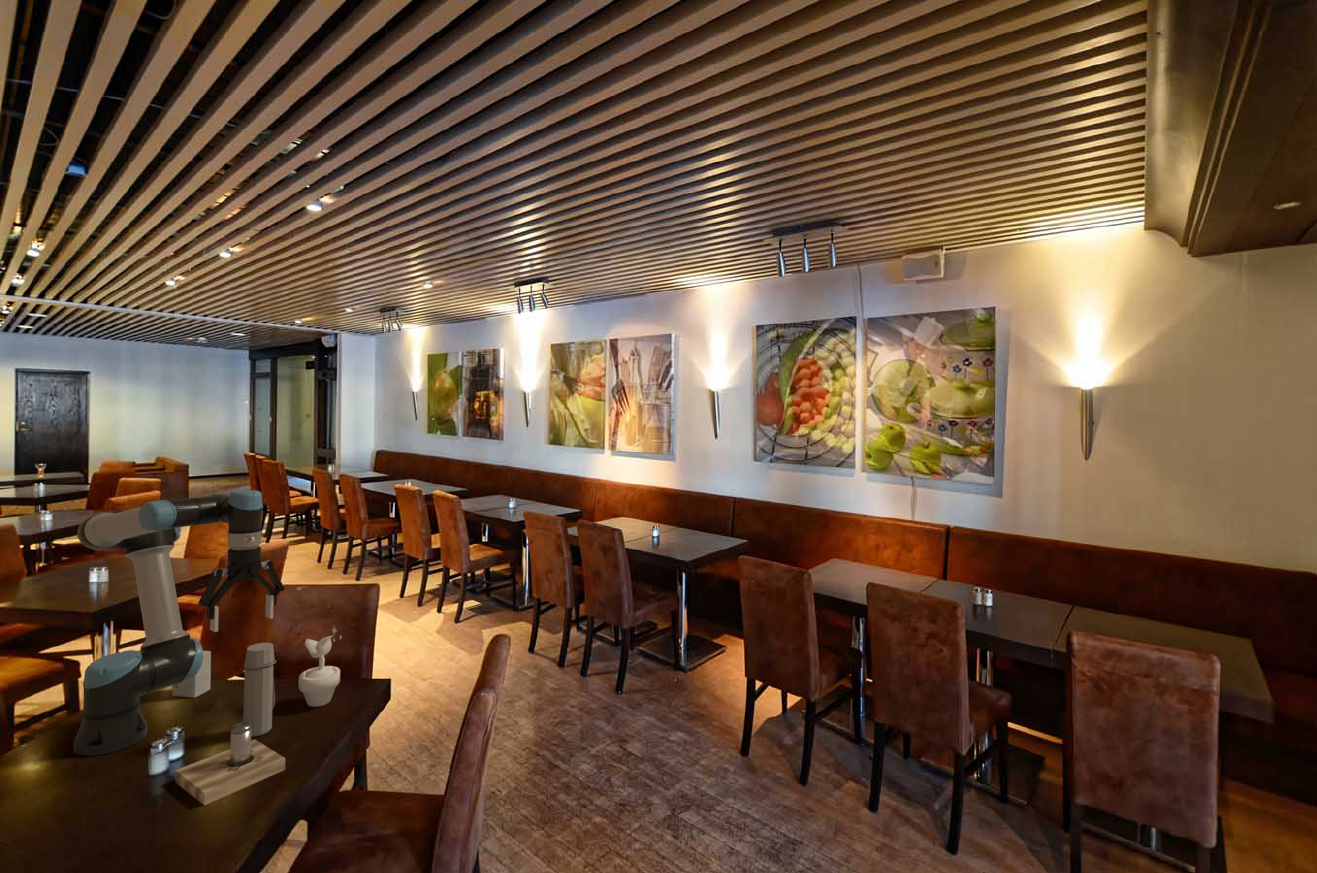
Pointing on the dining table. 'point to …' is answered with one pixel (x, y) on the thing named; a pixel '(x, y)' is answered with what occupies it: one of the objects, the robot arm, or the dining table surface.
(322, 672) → the potted plant
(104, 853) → the dining table surface
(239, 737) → the grey metallic cylinder
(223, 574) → the robot arm
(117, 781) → the dining table surface
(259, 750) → the jig
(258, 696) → the water bottle
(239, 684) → the dining table surface
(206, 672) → the small box
